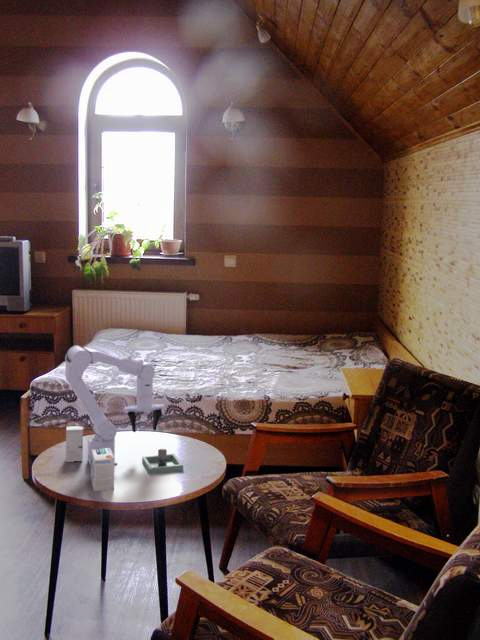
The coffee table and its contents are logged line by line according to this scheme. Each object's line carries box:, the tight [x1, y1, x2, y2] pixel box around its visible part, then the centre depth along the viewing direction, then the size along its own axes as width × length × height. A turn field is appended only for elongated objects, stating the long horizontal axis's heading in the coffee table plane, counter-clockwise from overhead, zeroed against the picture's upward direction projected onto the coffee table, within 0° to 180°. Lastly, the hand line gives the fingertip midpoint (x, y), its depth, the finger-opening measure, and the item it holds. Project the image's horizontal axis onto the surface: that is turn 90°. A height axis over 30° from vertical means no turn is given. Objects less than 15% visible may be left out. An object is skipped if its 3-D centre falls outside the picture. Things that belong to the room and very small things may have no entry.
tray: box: [141, 453, 184, 475], centre depth 236 cm, size 12×12×2 cm
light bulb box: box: [90, 448, 115, 492], centre depth 218 cm, size 11×7×11 cm, turn 19°
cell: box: [157, 448, 168, 467], centre depth 235 cm, size 3×3×6 cm
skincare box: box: [65, 425, 84, 463], centre depth 239 cm, size 6×4×12 cm
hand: (144, 430), depth 244 cm, fingers open, 7 cm apart
